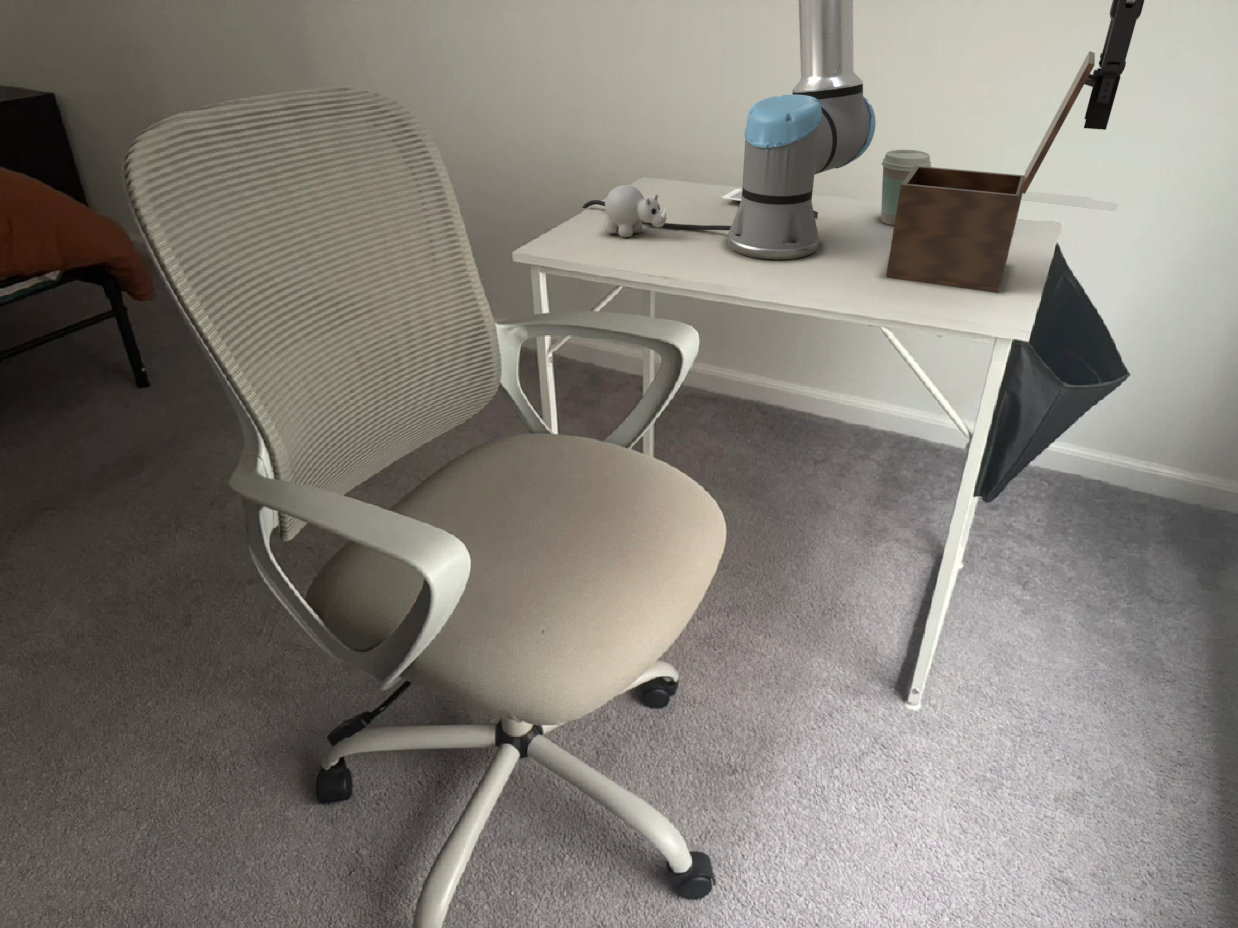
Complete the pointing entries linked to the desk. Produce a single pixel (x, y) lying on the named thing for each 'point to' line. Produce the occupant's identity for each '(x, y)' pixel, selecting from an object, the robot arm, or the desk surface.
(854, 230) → the desk surface
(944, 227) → the storage box
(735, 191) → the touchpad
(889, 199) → the coffee cup
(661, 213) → the toy rhinoceros
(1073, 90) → the box lid
